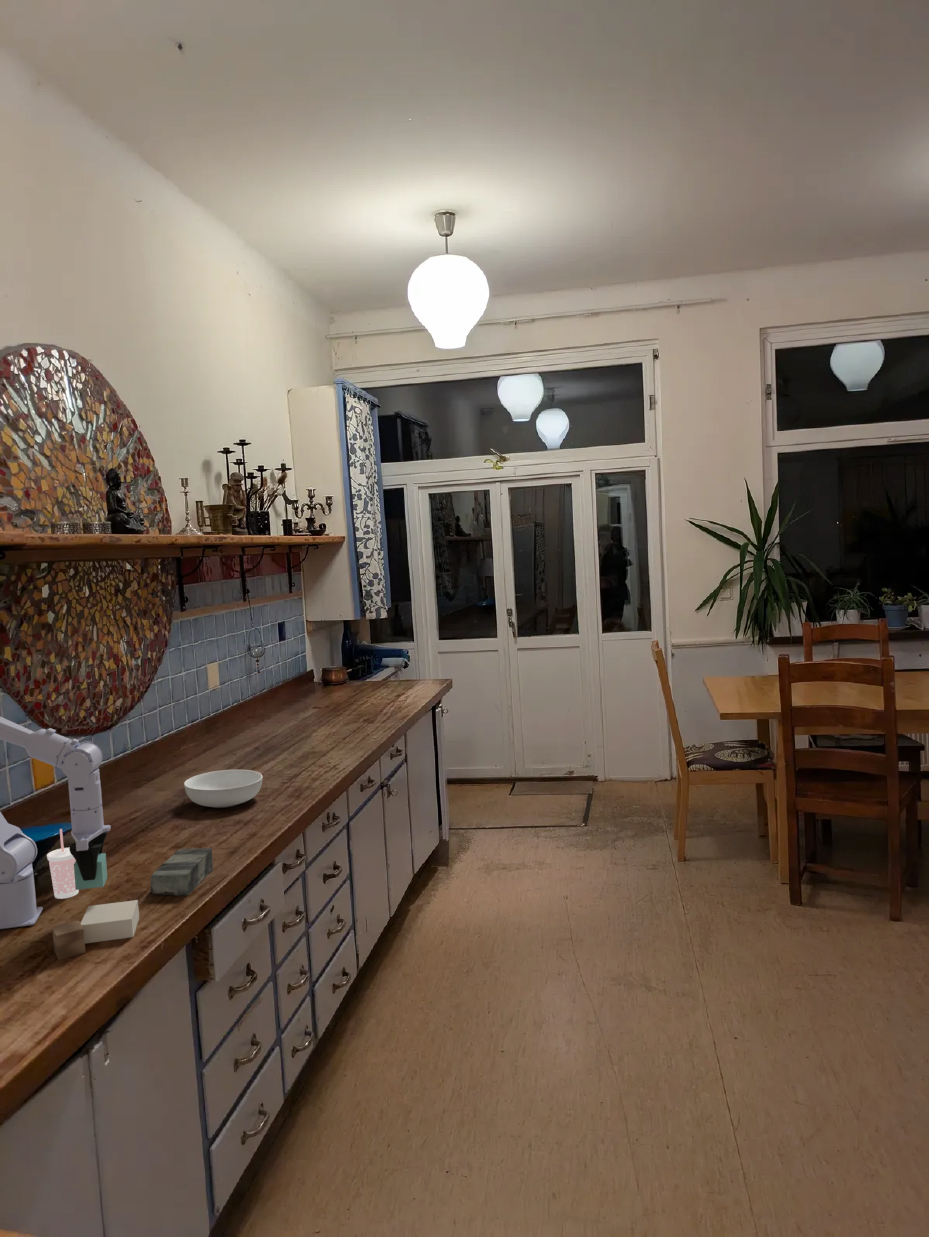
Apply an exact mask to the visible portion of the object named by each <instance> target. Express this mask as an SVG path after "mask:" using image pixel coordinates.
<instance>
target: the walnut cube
mask: <svg viewBox="0 0 929 1237" xmlns="http://www.w3.org/2000/svg"><path fill="white" fill-rule="evenodd" d="M51 929H52V940H53V941H52V942H53V951H54V954H55V955H56V957H57V961H59V960H63V959H66V958H70V957H74V956H78V955H83V954H85V953H86V943H85V941H84V929H83V927H82V925H81V921H80V920H75V921H70V922H66V923H63V924H58V925H55V926H52V927H51Z"/></svg>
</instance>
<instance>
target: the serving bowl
mask: <svg viewBox="0 0 929 1237" xmlns="http://www.w3.org/2000/svg"><path fill="white" fill-rule="evenodd" d="M263 778H264V777H263V775H262V773H261V772H259V771H255V770H250V769H222V770H215V771H214V770H213V771H209V772H203V773H201V774H197V775H194V776H192V777H190V778H188V779H186V780H185V781H184V782H183V787H184V790H185V793H186V795H187V797H188V798H189V799H190V801H192V802H193V803H195V804H197V805H200V806H203V807H209V808H215V809H217V808H218V809H220V808H221V809H222V808H223V809H225V808H231V807H235V806H237V805H240V804H243V803H246V802H248V801H250V800H251V799H253V798H254V797H256V796H257V794H258V793H259V792H260V790H261V787H262V785H263Z"/></svg>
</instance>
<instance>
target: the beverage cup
mask: <svg viewBox="0 0 929 1237" xmlns="http://www.w3.org/2000/svg"><path fill="white" fill-rule="evenodd" d="M59 836H60V838H59V839H60V848H57V849H55V850H52V851H49V852H48V853H47V854H46V858H47V861H48V862H49V863H48V864H49V870H50V876H51V881H52V888H53V893H54V894H53V896H54V898H55V899H58V900H60V899H61V900H63V899H69V898H72V897H74V896H77V895H78V894H79V891H80V889H79V890H76V888H75V875H74V863H75V862H76V860H75V858H74V857H73V855H72V854H71V853H70V850H69V848H70V846H69V847H64V835H63V828H59Z"/></svg>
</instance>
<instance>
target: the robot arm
mask: <svg viewBox="0 0 929 1237" xmlns="http://www.w3.org/2000/svg"><path fill="white" fill-rule="evenodd" d="M56 732H57V729H53V728H47V729H46V728H40V729H39V730H36V731H33V730H31V729H29V728H27V727H25V726H22V725H20V724H18V723H16V722H13V721H11V720H9V719H7V718H4V716H3V717H2V716H0V740H1V741H4V742H7V743H9V744H12V745H15V746H18V747H21V748H24V749H25V750H26V753H27V756H28V757H30V758H32V759H36V760H37V761H40V762H42V763H45V764H48V765H50V766H53V767H56V768H58V769H61V771H62V773H63V774H64V776H66V777H67V781H68V782H67V783H68V795H69V805H70V806H69V807H70V808H69V809H70V821H71V831H70V832H71V834H70V835H71V837H72V838H73V840H74V841H75V844H70V846H69V847H70V848H69V847H68V848H69V850H70V853H71V854H72V855H73V857H74V858H75V860H76V862H77V864H78V867H79V870H80V873H81V876H82V878H83V880H84V881H87V880H94V879H95V877H96V871H97V859H98V854H101V853H103V851H104V850H103V849H104V845H105V841H106V838H107V836H108V834H109V831H111V828H112V827H111V825H110V824H106V825H105V824H104V822H105V821H104V810H103V809H104V808H103V799H102V798H103V796H102V786H101V778H100V777H101V776H100V775H101V774H100V768H99V767H100V766H101V764H102V763H103V760H104V755H103V751H102V749H101V748H100V747H99V746H98V745H97V744H95V743H93V742H92V741H88V740H87V741H82V742H80V740H78V738H73V739H71V738H68V737H65V736H63V735H60V734H58V733H56ZM37 855H38V848H37V844H36V842H35V841H34V840H33V839H32V838H31V837H29V836H27V835H26V834H25V833H23V831H22V829H21V828H20V827H18V826H16V825H13V824H11V823H9V822H8V821H7V819H6V818H5V817H4V815H3V813H2V812H1V811H0V930H4V929H11V928H18V927H26V926H33V925H35V923H36V922H37V921H38V918H39V917H40V915H41V913H42V912H43V910H44V908H43V906H37V898H36V887H35V877H34V869H33V862H34V861H35V859H36V857H37Z"/></svg>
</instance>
